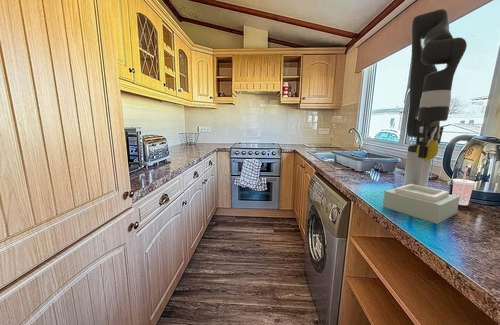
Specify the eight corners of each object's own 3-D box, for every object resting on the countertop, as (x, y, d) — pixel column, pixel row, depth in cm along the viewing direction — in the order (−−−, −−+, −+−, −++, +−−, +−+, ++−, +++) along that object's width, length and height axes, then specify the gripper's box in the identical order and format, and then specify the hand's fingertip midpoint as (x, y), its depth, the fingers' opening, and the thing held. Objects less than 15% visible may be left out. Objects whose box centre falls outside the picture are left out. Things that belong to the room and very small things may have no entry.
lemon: (428, 160, 75) (431, 137, 74) (440, 163, 70) (444, 138, 68) (411, 160, 76) (414, 137, 74) (422, 162, 70) (426, 138, 69)
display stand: (404, 199, 86) (406, 181, 85) (456, 213, 73) (460, 192, 72) (382, 206, 78) (385, 187, 77) (437, 223, 65) (441, 200, 64)
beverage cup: (470, 203, 83) (477, 167, 80) (471, 207, 78) (478, 170, 76) (448, 199, 87) (454, 165, 84) (448, 203, 82) (455, 167, 80)
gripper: (429, 107, 76) (422, 154, 79) (410, 105, 69) (403, 157, 72) (457, 106, 70) (448, 157, 73) (439, 104, 63) (430, 160, 66)
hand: (426, 157), depth 72 cm, fingers closed on lemon, 5 cm apart
